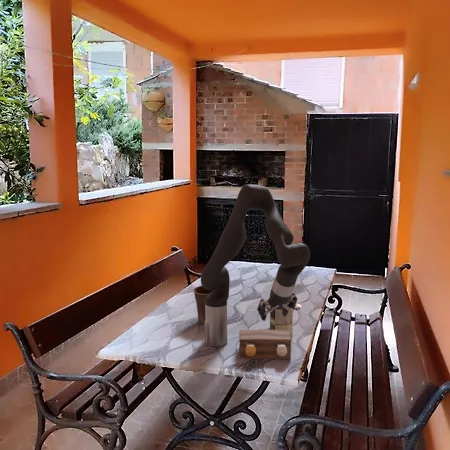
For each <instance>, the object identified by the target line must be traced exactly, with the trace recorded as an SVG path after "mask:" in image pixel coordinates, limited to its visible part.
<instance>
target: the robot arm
mask: <svg viewBox="0 0 450 450" xmlns="http://www.w3.org/2000/svg"><path fill="white" fill-rule="evenodd" d="M249 210H251V211H261V212H263V214H264V215H265V216H266V218H265V219H266V220H265V230H266V232H267V235H268V237H269V238H270V240H271V242H272V243H273V244H274V245H273V246H274V249H275V251H276V256H277V260H278V263H279V264H280V265H279V267H278V269H277V272H276V276H275V278H274V279H273V283H272V286H271V289H270V293H269V298H268V299H267V300H264V299H262V298H261V299H260V301H259V303H258V306H257V309H256V310H257V312H258V314H259V316H260V319H261V320H262V321H263V322H265V321H266V320H267V316H268V314H270V312H272V311H273V310H274V309H277V308H282V307H284V308H283V311H282V314H283V316H284V317H285V316H286V315H287V314H288V312H289V310H290V309H291V308H292V309H293V310H295V309H294V308H295V306H296V302H297V303H298V297H297V296H296V294H295V292H294V291H295V289H296V283H297V280H298V277H299V276H300V274H301V273H302V272H303V270H304V269H305V268H306V266H307V265H308V264H309V261H310V259H311V250H310V248H309V246H308V245H307V244H305V243H302V242H299V243H293V242H294V240H295V239H294V235H293V233H292V231H291V230H290V229H289V227H288V226H287V224H286V223H285V221H284V220H283V217H282V215H281V213H280V211H279V209H278V206H277V204H276V201H275V200H274V197H273V195H272V193H271V191H270V190H269V188H268V187H267V186H263V185H258V184H249V183H248V184H244V185H242V187H241V188H240V190H239V192H238V194H237V197H236V200H235V203H234V206H233V209H232V212H231V214H230V216H229V219H228V220H227V221H228V222H227V224H226V226H225V227H224V229H223V231H222V233H221V236H220V238H219V241H218V242H217V245H216V247H215V249H214V250H213V253H212V256H211V257H210V259H209V260H208V262H207V264H206V265H205V267H204V268H203V270H202V273H201V275H200V285H201V286H203V288H205V289H206V290H213V291H212V292H211V293H210V294H209V295H208V296H207V297H206V299H205V325H204V341H205V345H206V346H207V347H215V348H216V347H217V348H218V347H224V346H226V345H228V299H229V296H230V281H231V280H230V279H231V278H230V277H231V276H230V274H229V270H228V269H227V267H226V265H228V263H230V262H231V261H232V260H233V259H234V258H235V257H236V256H238V254H239V253H240V251H241V249H242V248H243V245H244V244H245V242H246V238H247V230H246V226H245V217H246V215H247V213H248V211H249ZM292 243H293V244H292ZM289 301H290V303H289V304H287V303H288V302H289ZM270 306H271V307H272V308H271V309H270Z"/></svg>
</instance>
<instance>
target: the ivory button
mask: <svg viewBox="0 0 450 450" xmlns="http://www.w3.org/2000/svg"><path fill="white" fill-rule="evenodd" d="M276 348H277V354H278V355H279V356H285V355H286V354H287V348H286V346H285V342H277V344H276Z"/></svg>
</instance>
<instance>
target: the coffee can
mask: <svg viewBox="0 0 450 450" xmlns="http://www.w3.org/2000/svg"><path fill="white" fill-rule="evenodd" d="M289 303H290V301H289V302H288V303H287V304H289ZM269 307H270V309H271V308H272V307H271V306H270V305H269ZM283 308H284V307H282V308H277V309H274V310H273V311H272V312H269V330H288V331H289V334H290V337H292V336H293V333H294V332H293V329H294V328H293V321H294V319H293V317H294V316H293V315H294V309H292V308H291V309H290V310H289V312H288V314H287V315H286V316H285V317H284V316H283V314H282V311H283Z"/></svg>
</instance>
